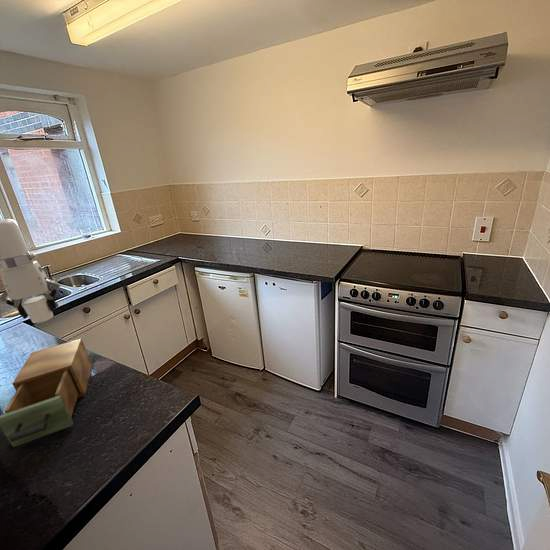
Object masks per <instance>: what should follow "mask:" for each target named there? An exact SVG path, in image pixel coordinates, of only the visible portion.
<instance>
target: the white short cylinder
mask: <svg viewBox="0 0 550 550" xmlns="http://www.w3.org/2000/svg"><path fill="white" fill-rule="evenodd" d="M47 301H48V299H47V298H46V297H45V296H43V295H42V294H41V295H36V296H32V297H29V298H27V299H25V300H23V301H22V303H21V305H22V306H23V308H24V310H25V311H26V313H27V314H28V318H29V319H30V320H31V323H33V324H41V323H44V322H46V321H48V320H50V319H52V318H53V317H54V313H53V312H52V311H51V309H50V307H49V305H48V303H47Z"/></svg>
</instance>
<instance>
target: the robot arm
mask: <svg viewBox="0 0 550 550" xmlns="http://www.w3.org/2000/svg"><path fill="white" fill-rule="evenodd" d="M35 259H38V255H37V254H36V253H31V252H30V250H29V248H28V246H27V244H26V241H25V239H24V237H23V234H22V232H21V230H20V226H19V225H18V223H17V222H16V220H14V219H12V218H11V219H10V218H7V219H6V218H5V219H0V267H1V269H0V276H1V280H2V283H3V287H4V289H5V290H3V292H2V294H1V295H0V302H2V303H3V304H4V303H5V304H7V305H9V306H11V307H13V308H15V309H17V311H18V314H19V315H20V317H22V319H23V320H26V319H27V318H29V316H28V314H27V313H26V311H25V310H24V308H23V306H22V305H21V303H22V302H23V299H28V298H32V297H36V296H42V295H43V296H45V297H46V298H47V299H48V301H47V303H48V305H49V307H50V309H51V311H52V313H53V312H55V311H56V309H57V307H58V304H57V302H56V300H55V296H56V294H57V293H58V291H59V289H60V287H61V284H60V283H59V282H56V281H53V280H51V279H49V278H48V275H46V272H45V271H44V269H43V267H42V266H41V265H40V263H39V262H38V260H35ZM51 287H53V288H52V290H51V291H50V290H49V289H50V288H51Z"/></svg>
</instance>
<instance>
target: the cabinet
mask: <svg viewBox="0 0 550 550" xmlns="http://www.w3.org/2000/svg"><path fill="white" fill-rule="evenodd" d="M93 367H94V365H93V362H92V360H91V357H90V355H89V353H88V351H87V348H86V346H85V344H84V341H83V339H82V338H78V339H74V340H71V341H67V342H64V343H60V344H58V345H53V346H50V347H46V348H42V349H40V350H36V351H32V352H30V354H29V356H28V357H27V359H26V361H25V362H24V364H23V366H22V367H21V369H20V370H19V372H18V373H17V375H16V377H15V378H14V380H13V381H12V383H11V385H12V386H13V388H14V390H15V392H16V391H17V389H18V387H19V386H20V384H21V383H24V382H27V381H31V380H34V379H37V378H40V377H43V376H47V375H50V374H53V373H56V372H59V371H63V370H66V369H70V371H71V374H72V376H73V378H74V380H75V382H76V384H77V386H78V388H79V393H78V397H77V399H78V398H81V397H84V396H86V393H87V389H88V386H89V382H90V378H91V374H92V370H93Z"/></svg>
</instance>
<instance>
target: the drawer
mask: <svg viewBox="0 0 550 550" xmlns="http://www.w3.org/2000/svg"><path fill="white" fill-rule="evenodd" d="M78 393H79V388H78V386H77V384H76V382H75V380H74V378H73V376H72V374H71V371H70V369H66V370H63V371H59V372H56V373H53V374H50V375H47V376H43V377H40V378H37V379H34V380H31V381H27V382H24V383H21V384H20V386H19V387H18V389H17V391H16V390H15V393H14V394H13V396H12V397H11V399H10V401H9V403H8V405H7V406H6V408H5V410H4V413H3V414H0V429H1V431H2V432H3V434H4V435H5V437H6V439H7V440H8V442H9V443H10V445H11V447H12V448H16V447H19V446H21V445H24V444H27V443H30V442H32V441H35V440H38V439H41V438H43V437H46V436H49V435H51V434H54V433H57V432H59V431H61V430H65V429H67V428H70V427H73V426H74V420H73V419H72V417H73V414H74V410H75V406H76V403H77V400H78V398H79V397H78ZM77 397H78V398H77Z"/></svg>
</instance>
